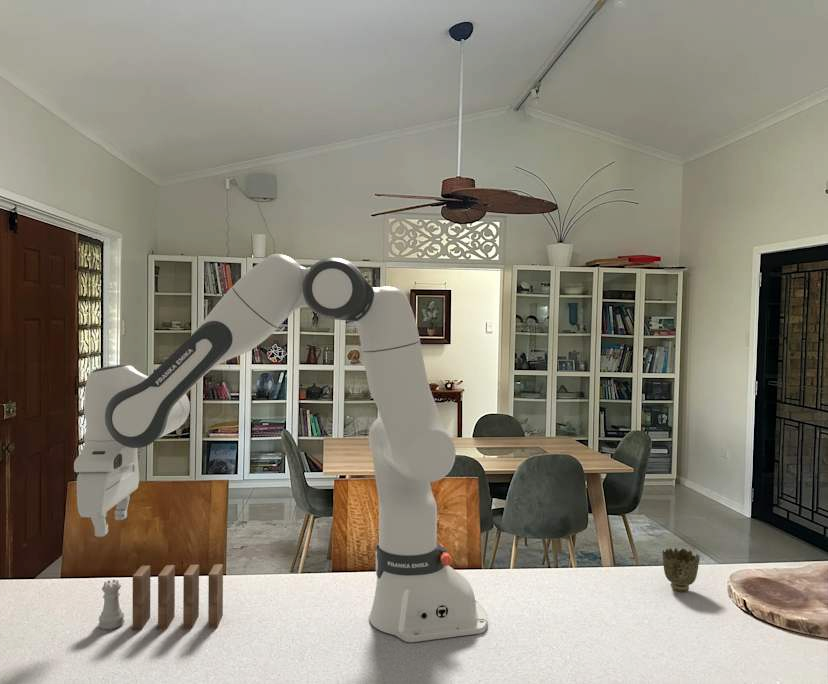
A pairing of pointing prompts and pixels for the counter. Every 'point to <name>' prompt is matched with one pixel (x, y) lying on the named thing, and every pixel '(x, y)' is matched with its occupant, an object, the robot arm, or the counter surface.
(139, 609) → the domino
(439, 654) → the counter surface
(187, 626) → the domino
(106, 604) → the rook chess piece
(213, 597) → the domino
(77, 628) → the counter surface
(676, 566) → the cup
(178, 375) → the robot arm
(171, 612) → the domino
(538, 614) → the counter surface
